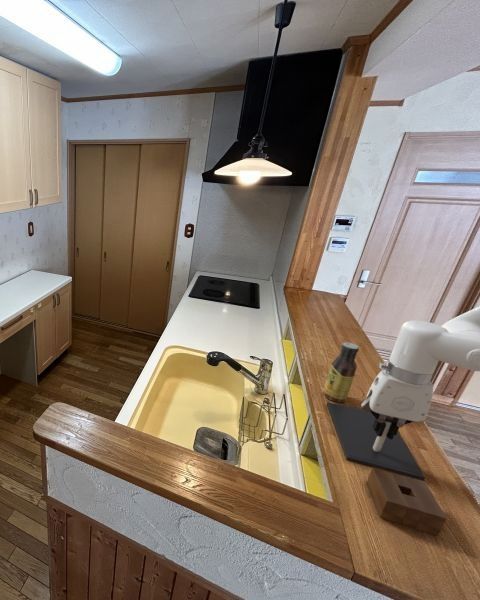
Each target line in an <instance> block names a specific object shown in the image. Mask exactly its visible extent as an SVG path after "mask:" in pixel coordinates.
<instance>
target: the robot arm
mask: <svg viewBox="0 0 480 600" xmlns="http://www.w3.org/2000/svg"><path fill="white" fill-rule="evenodd" d="M439 362H441V363H445V364H449V365H452V366H455V367H457V368H461V369H464V370H468V371H473V372H480V306H477V307H475V308H472V309H470V310H469V311H466V312H464V313H461V314H460V315H458V316H455V317H454V318H451V319H450V320H449V319H448V321H446V322H445V323H443V324H442V325H440V324H437V323H433V322H429V321H426V320H417V319H416V320H415V319H414V320H407V321H405V322H404V323H403V324H401V327H400V329H399V332H398V335H397V337H396V340H395V343H394V346H393V347H392V350H391V354H390V356H389V358H388V359H387V361H386V362H379V365H378V368H379V369H381V370H380V372H378V374H377V375H376V377H375V378H374V380H373V382H372V383H371V385H370V387H369V389H368V391H367V394H366V397H365V400H364V401H362V403H361V404H360V407H361V409H362V410H366V411H368V412H370V413H372V414H373V416H374V417H375V421H374V423H373V430H375V432H376V434H377V436H380V437H381V436H382V434H383V432H384V429H385V427H386V424H385V418H386V416H391V417H392V418H393V422H392V424H391V426H390V429H389V431H388V433H387V437H388V438H389V439H393V437H394V435H396V434H397V432H398V433H399V430H400V428H403V427H404V426H405V425H409V424H412V423H424V422H425V420H426V418H427V416H428V414H429V410H430V407H431V404H432V399H433V395H434V394H433V393H434V383H432V382H431V380H432V378H433V375H434V373H435V371H436V368H437V366H438V365H439Z"/></svg>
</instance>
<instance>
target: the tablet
mask: <svg viewBox="0 0 480 600" xmlns="http://www.w3.org/2000/svg"><path fill="white" fill-rule="evenodd" d="M325 405H326V408H327V410H328V413H329V416H330V418H331V422H332V424H333V427H334V429H335V432H336V435H337V438H338V440H339V443H340V446H341V449H342V451H343V455H344V457H345V460H346V461H350V462H353V463H356V464H361V465H364V466H367V467H372V468H376V469H380V470H384V471H387V472H391V473H395V474H399V475H402V476H406V477H409V478H413V479H417V480H420V481H424V482H425V479H426V476H425V474H424V473H423V471H422V470H421V468H420V466H419V464H418V463H417V461H416V460H415V457H413V455H412V453H411V451H410V450H409V448H408V446H407V445H406V444H405V442H404V440H403V438H402V436H401V435H400V433H399V431H398V432H397V434H396V435H394V437H393V439H389V438H388V437H387V436H386V438H385V441H384V443H383V445H382V448H381V450H380V451H378V452H375V451H374V449H373V446H374V443H375V441H376V438H377V434H376V432H375V430H373V423H374V421H375V417H374V416H373V414H372V413H370V412H368V411H366V410H364V409H362V408H356V407H352V406H347V405H343V404H338V403H333V402H330V401H327V402H326V404H325Z"/></svg>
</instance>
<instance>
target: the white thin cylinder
mask: <svg viewBox="0 0 480 600" xmlns="http://www.w3.org/2000/svg"><path fill="white" fill-rule="evenodd" d="M392 422H393V417H392V416H386V418H385V424H386V427H385V429H384V432H383V434H382V436H381V437H380V436H377V438H376V441H375V443H374V446H373V449H374V451H375V452H378V451H380V450H381V448H382V445H383V443H384V441H385V438H386V436H387V433H388V431H389V429H390V426H391V424H392Z"/></svg>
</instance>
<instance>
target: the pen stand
mask: <svg viewBox="0 0 480 600" xmlns="http://www.w3.org/2000/svg"><path fill="white" fill-rule="evenodd" d="M365 483H366V487H367V490H368V491H369V494H370V496H371V499H372V501H373V504H374V507H375V508H376V511H377V514H378V517H379V518H381V519H383V520H386V521H390V522H393V523H396V524H400V525H402V526H406V527H407V528H408V527H409V528H412V529H415V530H418V531H420V532H424V533H427V534H431V535H434V536H437V537H438V536H439V534H440V533H441V531H442V529H443V528H444V526H445V523H446V522H447V520H448V518H447V516H446V514H445V513H444V511H443V510H442V507H441V506H440V504H439V503H438V501H437V500H436V498H435V496H434V494H433V492H432V491H431V490H430V488H429V486H428V484H427V483H426V481H425V480H424V481H423V480H419V479H416V478H412V477H408V476H405V475H401V474H397V473H393V472H390V471H386V470H382V469H379V468H375V467H372V468H371V470H370V472H369V475H368V478H367V480H366V482H365Z"/></svg>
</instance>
